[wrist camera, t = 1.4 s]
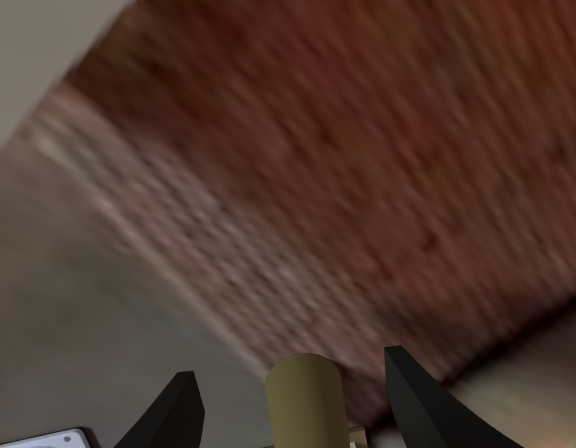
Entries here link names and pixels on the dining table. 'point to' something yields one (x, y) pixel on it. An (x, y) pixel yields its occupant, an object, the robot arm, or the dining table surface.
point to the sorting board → (354, 437)
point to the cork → (306, 403)
